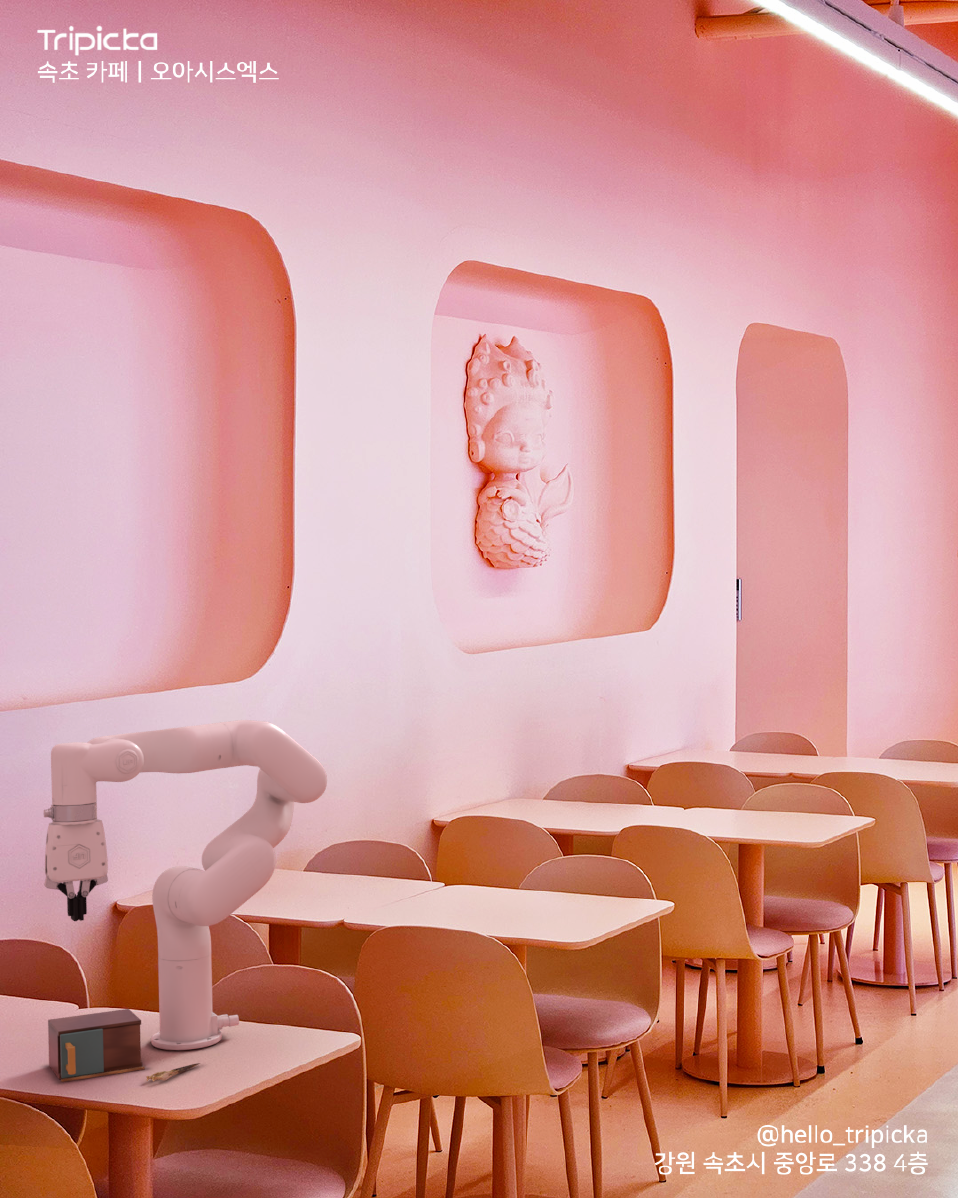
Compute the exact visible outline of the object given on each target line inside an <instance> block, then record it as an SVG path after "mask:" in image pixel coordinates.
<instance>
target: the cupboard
mask: <svg viewBox="0 0 958 1198" xmlns="http://www.w3.org/2000/svg"><path fill="white" fill-rule="evenodd" d="M141 1025H142V1020H141V1018H139V1016H137V1015H136V1014H135V1013H134V1012H133V1011H132V1010H130V1009H129V1008H124V1009H116V1010H110V1011H109V1010H108V1011H104V1012H102V1011H101V1012H95V1013H86V1014H79V1015H72V1016H66V1017H59V1018H58V1017H57V1018H51V1019H48V1020H47V1029H48V1030H47V1032H48V1033H47V1035H48V1038H47V1039H48V1067H49V1068H50V1069H51V1071H52V1072H53V1073H54V1074H55V1075H56V1077H57V1078H58V1079H59V1080H60V1082H61V1083H64V1082H65V1083H66V1082H71V1081H77V1080H84V1079H90V1078H97V1077H102V1076H109V1075H116V1074H122V1073H129V1072H136V1071H141V1070H145V1068H146V1067H145V1066H143V1062H142V1049H141V1048H142V1047H141V1046H142V1045H141ZM96 1029H103V1061H104V1072H100V1073H93V1074H87V1075H80V1076H74V1077H67V1078H61V1049H60V1034H67V1033H74V1032H82V1031H89V1030H96Z"/></svg>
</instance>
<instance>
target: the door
mask: <svg viewBox="0 0 958 1198" xmlns="http://www.w3.org/2000/svg"><path fill="white" fill-rule="evenodd" d="M60 1049H61V1078H65V1079H66V1078H67V1077H74V1076H78V1077H79V1076H80V1075H87V1074H91V1075H92V1074H93V1073H100V1072H104V1061H103V1029H96V1030H89V1031H82V1032H74V1033H67V1034H60ZM104 1073H105V1072H104Z"/></svg>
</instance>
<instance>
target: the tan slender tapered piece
mask: <svg viewBox="0 0 958 1198" xmlns="http://www.w3.org/2000/svg"><path fill="white" fill-rule="evenodd" d="M200 1064H201V1062H197V1063H192V1064H189V1065H185V1066H181V1067H178V1068H173V1069H171V1070H167V1071H165V1070H163V1071H157V1072H155V1073H152V1074H151V1075H147V1076H146V1075H145V1077H146V1082H148V1081H149V1080H152V1082H155V1081H166V1080H169V1079H170V1078H172V1077H174V1076H176V1075H177V1074H181V1073H184V1072H186V1071H189V1070H190V1069H193V1068H195V1067H196V1066H199V1065H200Z"/></svg>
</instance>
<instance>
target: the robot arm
mask: <svg viewBox="0 0 958 1198" xmlns="http://www.w3.org/2000/svg"><path fill="white" fill-rule="evenodd" d="M242 766H243V767H244V766H248V767H257V768H259V770H258V773H257V780H256V795H255V800H254V802H253V803H252V805H251V806H250V808H249V809H248V810H247V811H246V812H245V813H244V814H243V815H241V817H240V818H238V819H237V820H236V821H234V822H233V823H232V824H231V825H229V826H228V827H227V828H226V829H224V830H223V831H222V832H220V833H219V834H218V835H216V836H215V837H214V838H213V839H211V840H210V842H209V843H207V844H206V846H205V848H204V850H203V851H202V854H201V865H202V868H203V870H202V869H200V868H196V867H191V866H186V865H177V866H172V867H170V868H168V869H165V870H164V871H162V873H161V874H159V876H158V877H157V878H156V880H155V883H154V885H153V888H152V894H151V896H152V897H151V898H152V899H151V900H152V901H151V902H152V907H153V908H152V909H153V914H154V920H155V926H156V933H157V935H156V936H157V956H158V957H157V968H158V969H157V970H158V971H157V972H158V1005H159V1006H158V1009H159V1010H158V1011H159V1012H158V1015H159V1016H158V1017H159V1031H158V1032H155V1033H154V1034H153V1035H152V1036H151V1038H150V1041H151V1045H152V1046H153V1047H155V1048H156V1049H161V1050H167V1051H188V1050H197V1049H202V1048H207V1047H210V1046H213V1045H216V1044H217V1043H219V1042H220V1041H221V1040H222V1038H223V1032H222V1030H223V1028H226V1027H230V1028H231V1027H235V1026H239V1025H240V1019H239V1018H240V1017H239V1015H238V1014H233V1015H228V1014H227V1013H226V1014H219V1015H217V1014H216V1013H215V1012H214V1011H213V1009H214V1008H213V970H212V968H213V967H212V965H213V964H212V963H213V962H212V937H211V930H210V927H211V926H214V925H217V924H219V923H221V922H223V921H224V920H225V919H227V918H228V917H230V916H231V915H232V914H233V913H235V911H236V910H238V909H239V908H240V907H242V905H244V904H245V903H246V902H247V901H249V900H250V899H251V898H252V897H253V896H255V895H256V894H257V893H258V892H259V891H260V890H262V889H263V888H264V887H265V886H266V885H267V883H269V881H270V879H271V878H272V876H273V874H274V871H275V870H276V864H277V856H276V851H275V849H274V848H276V847H277V846H278V845H279V844H280V843H281V842H282V841H283V840H284V838H285V837H287V834H288V833H289V831H290V829H291V826H292V821H293V818H294V817H293V816H294V808H295V803H298V804H309V803H310V804H311V803H313V802H315V801H317V800H318V799H320V798H321V797H322V795H324V793H325V791H326V789H327V786H328V775H327V771H326V768H325V767H324V766H323V764H322V763H321V762H320V761H319V760H318V759H317V758H316V757H315V756H314V755H312V754H311V752H309V751H308V750H307V749H306V748H304V747H303V746H302V745H301V744H300V743H299V742H297V741H296V740H295V739H294V738H292V737H291V735H289V734H288V733H287V732H285V730H283V729H282V728H280V727H279V726H278V725H276V724H274V723H272V722H270V721H266V720H265V721H264V720H252V719H238V720H230V721H222V722H221V721H219V722H214V723H206V724H205V723H204V724H197V725H187V726H179V727H170V728H163V729H155V730H147V731H137V732H127V733H119V734H118V733H117V734H110V735H102V736H97V737H94V738H92V739H90V740H89V741H87V742H84V741H76V742H75V741H74V742H73V741H71V742H62V743H57V744H55V745H53V747H51V751H50V772H51V773H50V774H51V775H50V776H51V804H50V807H49V808H48V809H43V818H48V819H51V821H52V822H49V823H48V825H47V832H46V839H45V851H44V873H45V880H44V883H43V884H44V885H43V886H44V887H45V888H46V889H50V890H57V891H60V892H61V893H62V894H63V895H65V896H66V907H67V908H66V910H67V911H66V912H67V916H68V917H70V920H72V921H73V922H78V921H80V922H82V921H84V920H85V915H87V913H88V910H87V909H88V908H87V907H88V906H87V903H88V901H87V897H88V896H89V894H90V893H91V892H92V891H93V889H95V887H96V886H100V885H103V884H105V883H107V882H108V881H109V878H108V875H107V874H108V873H109V863H108V851H107V849H108V848H107V841H106V834H105V828H104V823H103V820H101V819H98V803H97V801H98V800H97V799H98V798H97V783H98V782H108V783H110V782H111V783H112V782H113V783H125V782H128V781H130V780H133V779H134V778H136V777H137V776H138V775H139V774H140V773H141V774H142V773H164V774H194V773H199V772H205V771H213V770H220V769H227V768H234V767H242ZM74 882H79V883H78V891H77V893H75V887H74V886H75V885H74Z"/></svg>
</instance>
